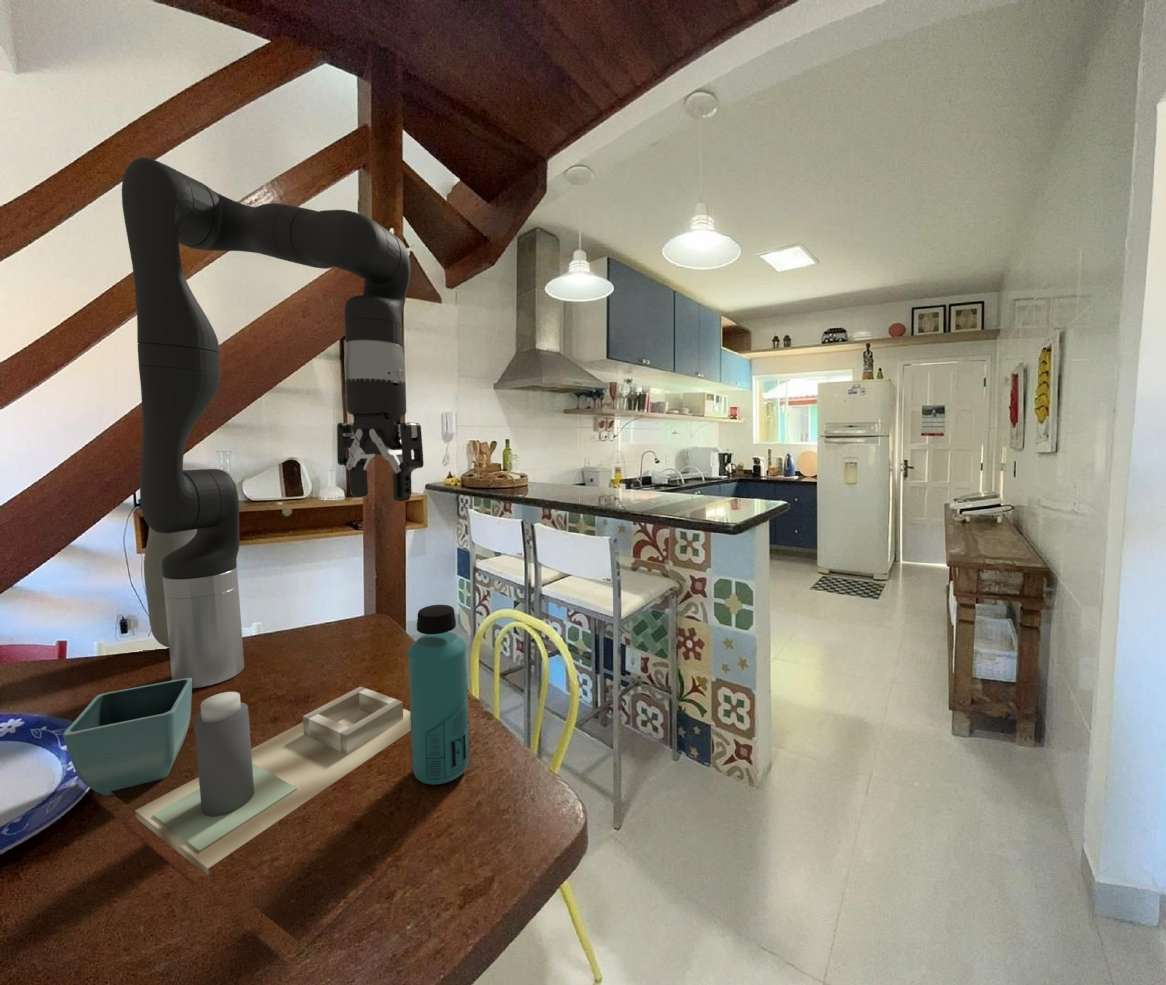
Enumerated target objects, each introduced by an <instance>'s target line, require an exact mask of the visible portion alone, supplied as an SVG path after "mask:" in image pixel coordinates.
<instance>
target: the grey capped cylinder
mask: <svg viewBox="0 0 1166 985" xmlns="http://www.w3.org/2000/svg"><path fill="white" fill-rule="evenodd" d="M249 715H250V714H249V706H248V704H247V703H245V702H241V694H240V692H237V691H226V692H225V691H224V692H220V693H217V694H214V695H212V696H209V697H207V698H206V699H204V700H203V701H201V703H200V713H199V714H198V715H197V716H196V717H195V718H194V720H193V728H194V736H195V748H196V749H195V750H196V759H197V761H196V762H197V773H198V777H199V785H200V797H201V808H202V813H203V814H204V815H206V816H210V817H216V816H222V815H226V814H229V813H231V812H233V811H236V810H237V809H239V808H241V807H242V806H244V805H245V804H246V803H248V802H249V801H250V800H251V798H252V797H253V795H254V782H253V768H252V755H251V749H252V744H251V743H252V742H251V729H250V727H251V726H250V717H249Z"/></svg>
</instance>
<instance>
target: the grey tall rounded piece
mask: <svg viewBox="0 0 1166 985" xmlns="http://www.w3.org/2000/svg"><path fill="white" fill-rule="evenodd" d="M196 532H197V529H194V530H188V531H181V532H174V533H158V532H155V531H154V530H152V529H151V528H150V527H149V526H148V536H147V541H146V542H147V543H146V547H145V551H144V552H145V553H144V557H143V574H144V575H143V576H144V578H143V579H144V587H145V594H146V601H147V610H148V611H147V612H148V619H149V627H150V630H151V633H152V636H153V637H154V639H155V640H156V641H157V642H158V644H160V645H161V646H162V647H166V648H169V639H168V628H167V617H166V606H165V595H164V586H163V575H162V560H163V559H164V557H166V556H167V555H168V554H170V553H172V552H174V551H176V550H178V549H179V548H181V547H183V546H184V545H186V544H187V543H188V542H190V541H191V540H192V539H193V537H194V536H195V535H196Z"/></svg>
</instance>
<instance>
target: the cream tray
mask: <svg viewBox="0 0 1166 985" xmlns="http://www.w3.org/2000/svg"><path fill="white" fill-rule="evenodd" d="M403 703H404V702H403V701H401V700H399V699H397V698H394V697H390V696H388V695H385V694H383V693H380V692H377V691H375V690H372V689H369V688H366V687H363V686H359V687H357V688H354V689H352V690H350V691H348V692H347V693H345V694H343V695H341V696H340V697H337V698H335V699H333V700H330V702H328V703H325V704H324V705H322V706H320V707H318V708H316V709H314V710H312V711H310V712H308V713H307V714H304V715H302V722H301V723H298V724H297V725H294V726H292V727H291V728H289V729H286V730H285V731H282V732H281V733H278V734H277V735H275V736H273V737H272V738H269V739H268V740H266V741H264V742H262V743H260V744H258V745H257V746H255V747H252V748H251V755H252V768H253V782H254V795H253V797H252V798H251V800H250V801H249V802H248V803H246V804H245V805H244V806H242V807H241V808H239V809H237V810H236V811H233V812H231V813H229V814H226V815H222V816H216V817H210V816H206V815H204V814H203V813H202V808H201V797H200V785H199V776H198V777H196V778H194V779H192V780H190V781H189V782H186V783H184V784H182V785H180V786H179V787H177V788H175V789H173V790H171V791H169V792H168V793H165V794H164V795H161V796H160V797H157V798H156V799H154V800H151V801H150V802H148V803H147V804H145V805H143V806H141V807H139V808H137V809H134V814H135V815H134V816H135V818H136V819H137V820H138V821H139V822H140V823H142V824H143V825H144V826H146V827H147V828H148V829H149V830H151V832H153V834H155V835H156V836H158V837H159V838H160V839H161V840H163V841H164V842H165V843H166V844H168V845H169V846H170V847H172V849H174V850H175V851H176V852H177V853H179V854H180V855H181V856H182V857H184V858H185V859H186V860H187V861H188V862H190V863H191V864H192V865H193V866H195V867H196V868H197V869H198V870H199V871H201V872H202V873H203V874H205V875H206V876H207V877H211V876H212V875H213V874H214V873H213V871H212V870H210V869H211V867H212V868H213V866H215V865H217V863H219V862H220V861H222V860H223V859H225V858H226V857H227V856H229V855H231V854H232V853H234V852H236V851H237V850H238V849H239V848H241V847H242V846H244V845H245V844H247V843H248V842H250V841H251V840H252V839H254V838H256V837H257V836H258V835H260V834H261V833H263V832H265V831H266V830H268V829H269V828H270V827H272V826H273V825H274V824H276V823H278V822H279V821H280V820H282V819H284V817H287V816H288V815H289V814H290V813H292V812H294V811H295V810H296V809H298V808H300V807H301V806H303V805H304V804H306V803H307V802H308V801H310V800H312V799H313V798H314V797H316V796H317V795H318V794H320V793H323V791H324V790H326V789H328V788H329V787H331V786H332V785H334V784H335V783H336V782H338V781H339V780H340V779H342V778H343V777H346V775H348V774H350V773H351V772H352V771H355V769H357V768H358V767H359V766H361V765H363V764H364V763H366V762H367V761H368V760H370V759H371V758H374V756H376V755H377V754H379V753H380V752H382V751H384V750H385V749H386V748H387V747H389V746H390V745H392V744H394V743H395V742H397V741H398V740H400V739H401V738H402V737H404V736H406V735H407V734H409V733H411V722H410V721H409V720H410V710H409V709H408V710H407V709H405V708H404V704H403ZM409 722H410V725H409ZM409 726H410V728H409Z"/></svg>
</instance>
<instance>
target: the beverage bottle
mask: <svg viewBox="0 0 1166 985" xmlns="http://www.w3.org/2000/svg"><path fill="white" fill-rule="evenodd" d="M417 612H418V613H417V619H416V620H417V621H416V631H417V632H418V633H421V634H423V635H421V636H420V637H418V639H416V640H415V641H414V643H413V642H412V643H413V644H411V646H410V647H409V648H408V650H407V658H408V678H409V681H408V682H409V700H410V701H409V702H410V703H409V706H408V708H409V711H410V720H409V721H410V722H411V731H410V742H409V743H410V745H409V748H410V749H409V752H410V753H409V754H410V759H411V760H410V767H411V769H412V773H413V775H414V776H415V778H416V779H417V780H418V781H419V782H421V783H423V784H425V785H426V784H427V785H441V784H446V783H449V782H452V781H454V780H456V779H457V778H459V777H460V776H462V774H464V772H466V770H467V768H468V765H469V762H470V758H471V754H470V753H471V737H470V736H471V735H470V734H469V729H471V727H470V725H469V724H470V719H469V718H470V717H469V716H470V715H469V704H468V703H469V701H468V700H469V698H468V693H469V691H470V690H469V685H468V681H469V679H468V673H469V672H468V668H467V643H466V642H465V640H463V638H461V637H460V636H458V635H457V634H456V633H454V632H452V631H453V630H454V629H455V628H456V626H457V620H456V613H455V608H454V607H453V606H451V605H448V604H433V605H432V604H431V605H428V606H424V607H422V608H420V609H419V610H418V611H417ZM410 722H409V725H410ZM409 728H410V726H409Z"/></svg>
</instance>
